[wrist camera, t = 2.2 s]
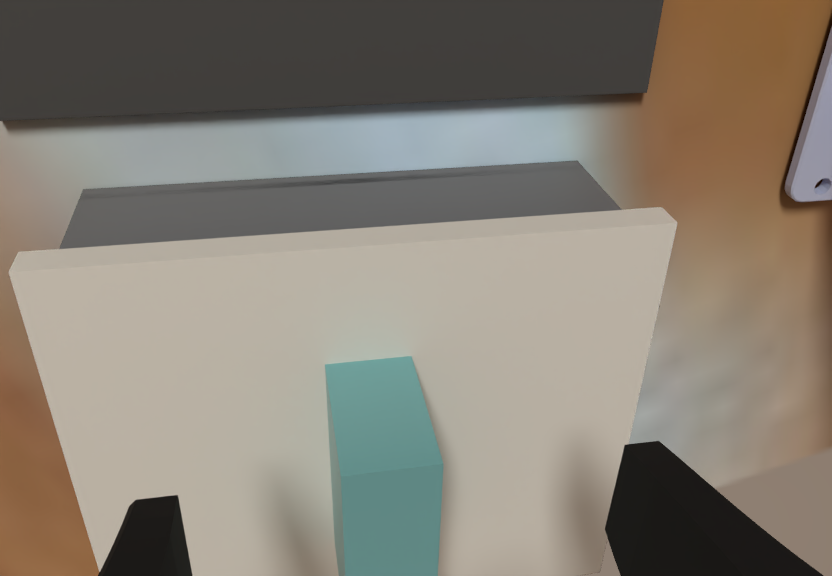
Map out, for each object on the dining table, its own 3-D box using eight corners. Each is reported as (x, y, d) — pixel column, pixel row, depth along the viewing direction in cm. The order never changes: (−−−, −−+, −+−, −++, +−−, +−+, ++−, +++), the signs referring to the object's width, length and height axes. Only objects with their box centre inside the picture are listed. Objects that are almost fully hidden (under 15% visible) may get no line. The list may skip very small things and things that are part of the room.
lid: (650, 196, 19) (764, 308, 15) (583, 535, 25) (649, 680, 21) (25, 237, 16) (-47, 385, 12) (127, 600, 23) (102, 776, 19)
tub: (577, 160, 22) (637, 227, 18) (536, 451, 27) (577, 542, 24) (83, 189, 20) (50, 271, 16) (153, 498, 25) (140, 605, 22)
